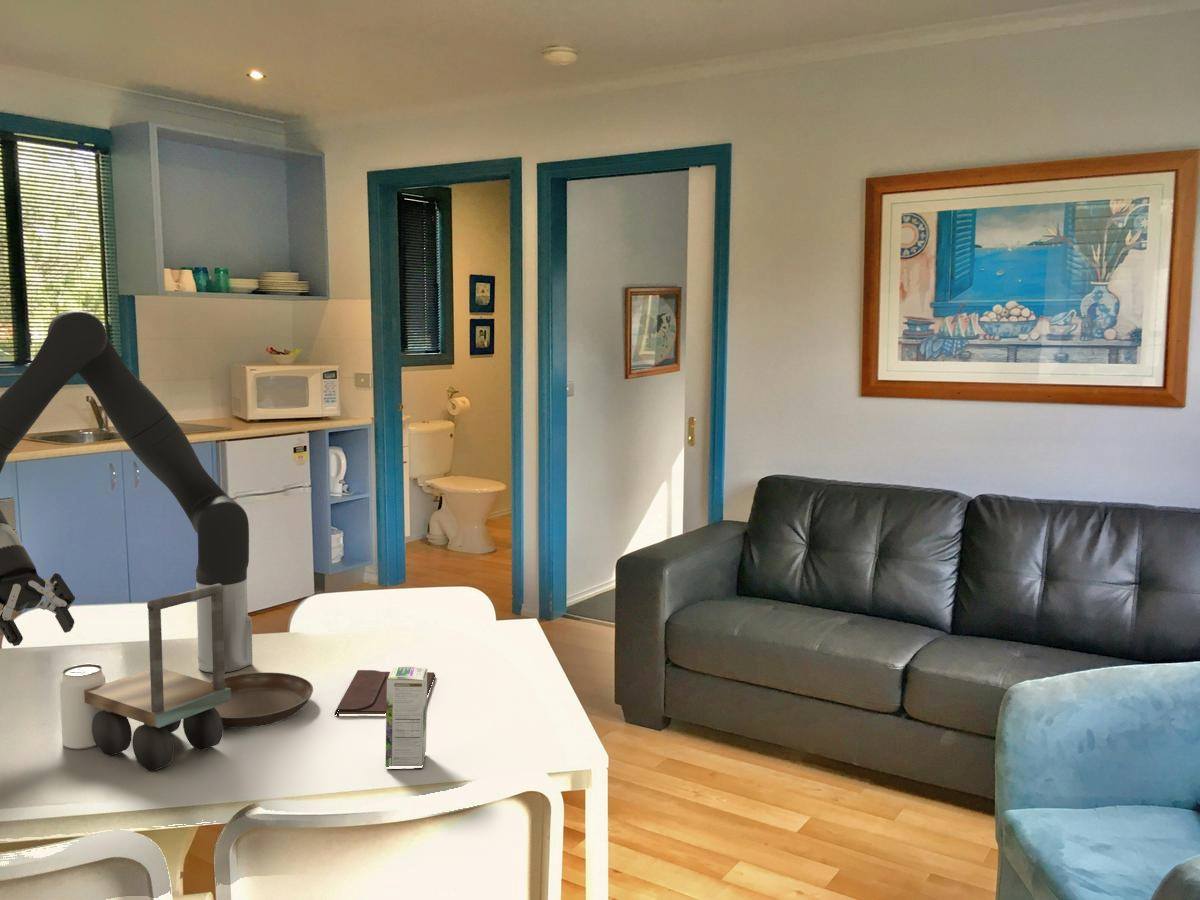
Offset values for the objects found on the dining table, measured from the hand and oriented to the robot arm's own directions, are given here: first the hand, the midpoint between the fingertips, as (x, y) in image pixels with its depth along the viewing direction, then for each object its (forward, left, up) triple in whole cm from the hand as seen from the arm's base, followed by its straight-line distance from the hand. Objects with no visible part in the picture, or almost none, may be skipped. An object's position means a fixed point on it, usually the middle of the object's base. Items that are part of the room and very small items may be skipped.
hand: (44, 636), depth 167 cm
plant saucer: (-30, +11, -16) cm, 36 cm away
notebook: (-52, +19, -17) cm, 57 cm away
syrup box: (-41, +46, -16) cm, 63 cm away
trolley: (-12, +19, -16) cm, 27 cm away
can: (-3, +9, -16) cm, 19 cm away
